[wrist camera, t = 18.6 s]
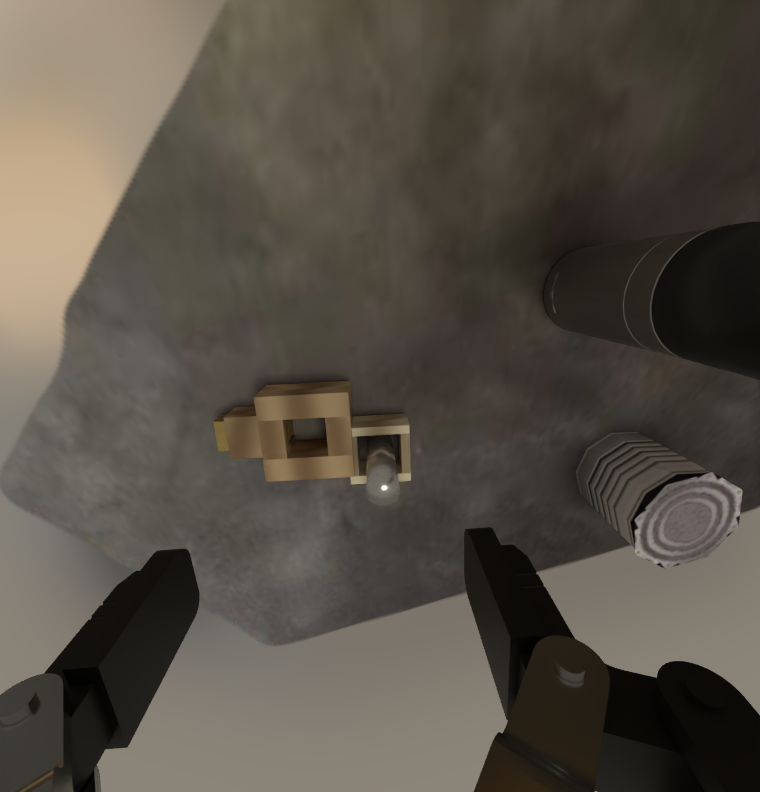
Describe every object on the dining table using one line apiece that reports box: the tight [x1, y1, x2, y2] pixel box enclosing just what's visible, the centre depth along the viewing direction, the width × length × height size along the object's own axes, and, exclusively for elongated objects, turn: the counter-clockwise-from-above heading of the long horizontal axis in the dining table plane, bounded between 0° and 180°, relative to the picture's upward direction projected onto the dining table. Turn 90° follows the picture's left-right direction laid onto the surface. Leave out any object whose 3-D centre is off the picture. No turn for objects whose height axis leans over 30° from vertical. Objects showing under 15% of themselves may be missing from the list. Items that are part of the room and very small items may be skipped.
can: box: [575, 432, 742, 568], centre depth 45 cm, size 11×11×12 cm
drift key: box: [213, 414, 293, 451], centre depth 45 cm, size 8×4×3 cm, turn 93°
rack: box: [351, 413, 411, 484], centre depth 46 cm, size 7×7×4 cm
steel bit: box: [366, 434, 400, 506], centre depth 42 cm, size 3×3×12 cm
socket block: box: [224, 381, 355, 482], centre depth 45 cm, size 14×10×5 cm
